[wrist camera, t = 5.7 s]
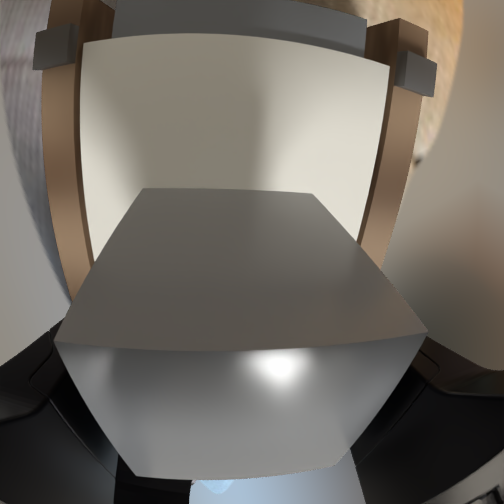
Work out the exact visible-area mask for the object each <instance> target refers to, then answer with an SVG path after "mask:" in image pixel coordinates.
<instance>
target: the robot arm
mask: <svg viewBox="0 0 504 504" xmlns="http://www.w3.org/2000/svg"><path fill="white" fill-rule="evenodd" d="M63 320H64V318H63V319H62V320H61V321H59V323H57V324H56V325H54V326H53V327H52V328H51V329H50V330H49V331H50V332H49V331H47V332H46V333H44V334H43V335H42V336H41V337H40V338H38V339H37V340H36V341H34V342H33V343H32V344H31V345H29V346H28V347H27V348H25V349H24V350H23V351H21V352H20V353H18V354H17V355H16V356H14V357H13V358H12V359H10V360H9V361H7V362H6V363H4V364H3V365H2V366H0V504H189V496H190V488H191V485H193V484H194V483H195V481H196V480H182V479H164V478H152V477H142V476H136V475H135V474H134V473H133V471H132V470H131V469H130V468H129V466H128V465H127V464H126V462H125V461H124V460H123V458H122V457H121V456H120V454H119V453H118V452H117V450H116V449H115V448H114V446H113V445H112V443H111V442H110V440H109V439H108V438H107V436H106V435H105V433H104V432H103V430H102V429H101V427H100V426H99V424H98V422H97V421H96V419H95V418H94V416H93V415H92V413H91V411H90V410H89V408H88V406H87V405H86V403H85V401H84V400H83V398H82V396H81V394H80V393H79V391H78V389H77V387H76V385H75V384H74V382H73V380H72V378H71V376H70V374H69V372H68V370H67V368H66V366H65V364H64V362H63V360H62V358H61V356H60V354H59V352H58V350H57V348H56V345H55V343H54V339H55V336H56V334H57V332H58V330H59V328H60V326H61V324H62V322H63ZM350 450H351V454H352V457H353V460H354V463H355V466H356V467H355V468H356V471H357V474H358V478H359V481H360V485H361V488H362V492H363V495H364V499H365V502H366V504H504V370H491V369H487V368H484V367H481V366H479V365H477V364H476V363H474V362H472V361H470V360H468V359H466V358H464V357H463V356H461V355H459V354H457V353H456V352H454V351H452V350H450V349H448V348H446V347H445V346H443V345H441V344H439V343H438V342H436V341H434V340H432V339H431V338H429V337H428V336H426V338H425V339H424V341H423V343H422V345H421V347H420V348H419V350H418V352H417V354H416V355H415V357H414V359H413V360H412V362H411V364H410V365H409V367H408V369H407V370H406V372H405V373H404V375H403V377H402V378H401V380H400V381H399V383H398V384H397V386H396V387H395V389H394V390H393V392H392V393H391V395H390V396H389V398H388V399H387V400H386V402H385V403H384V405H383V406H382V408H381V409H380V410H379V412H378V413H377V414H376V416H375V417H374V418H373V420H372V421H371V422H370V424H369V425H368V426H367V428H366V429H365V430H364V431H363V433H362V434H361V435H360V436H359V438H358V439H357V440H356V441H355V443H354V444H353V445H352V446H351V447H350Z"/></svg>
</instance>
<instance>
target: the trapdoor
mask: <svg viewBox="0 0 504 504" xmlns="http://www.w3.org/2000/svg"><path fill="white" fill-rule="evenodd" d="M366 28H367V19H364V18H361V17H357V16H354V15H351V14H347V13H344V12H340V11H337V10H333V9H329V8H325V7H321V6H316V5H312V4H307V3H302V2H297V1H292V0H117V3H116V9H115V16H114V23H113V31H112V39H106V40H99V41H93V42H87V43H84V45H83V55H82V68H81V87H80V141H81V161H82V174H83V186H84V195H85V204H86V212H87V220H88V226H89V233H90V239H91V245H92V251H93V256H94V261H96V259H97V257H98V256H99V254H100V252H101V251H102V249H103V247H104V246H105V244H106V243H107V241H108V239H109V238H110V236H111V235H112V233H113V232H114V230H115V228H116V227H117V225H118V224H119V222H120V221H121V219H122V218H123V216H124V215H125V213H126V212H127V210H128V209H129V207H130V206H131V204H132V203H133V201H134V200H135V199H136V197H137V196H138V194H139V193H140V191H141V190H142V189H143V188H207V189H242V190H265V191H283V192H299V193H312V194H313V195H314V196H315V197H316V198H317V199H318V200H319V201H320V202H321V203H322V204H323V205H324V206H325V207H326V209H327V210H328V211H329V212H330V213H331V214H332V215H333V216H334V217H335V218H336V219H337V221H338V222H339V223H340V224H341V225H342V226H343V227H344V228H345V229H346V231H347V232H348V233H349V234H350V235H351V236H352V237H353V238H354V240H355V241H357V237H358V233H359V229H360V226H361V222H362V218H363V214H364V209H365V205H366V201H367V197H368V192H369V188H370V184H371V179H372V174H373V169H374V165H375V160H376V154H377V149H378V144H379V138H380V133H381V127H382V121H383V114H384V108H385V101H386V94H387V86H388V78H389V69H390V66H387V65H384V64H381V63H378V62H375V61H372V60H369V59H365V58H364V51H365V40H366Z"/></svg>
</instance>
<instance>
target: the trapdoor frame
mask: <svg viewBox="0 0 504 504" xmlns="http://www.w3.org/2000/svg"><path fill="white" fill-rule="evenodd" d="M114 16H115V11H114V10H113V9H112V8H110V7H109V6H107V5H106V4H105V3H103V2H102V1H100V0H52V2H51V7H50V13H49V18H48V25H47V30H43V31H40V32H37V33H36V39H35V48H34V58H33V70H43V73H42V140H43V155H44V166H45V176H46V184H47V192H48V199H49V205H50V211H51V217H52V223H53V228H54V233H55V238H56V243H57V247H58V252H59V256H60V260H61V264H62V268H63V272H64V276H65V279H66V283H67V286H68V290H69V293H70V297H71V300H72V302H73V300H74V298H75V296H76V295H77V293H78V291H79V289H80V287H81V285H82V284H83V282H84V280H85V278H86V276H87V275H88V273H89V271H90V269H91V268H92V266H93V264H94V262H95V261H94V256H93V251H92V245H91V239H90V233H89V226H88V220H87V212H86V204H85V195H84V186H83V174H82V161H81V141H80V87H81V68H82V55H83V45H84V43H87V42H93V41H99V40H106V39H112V31H113V23H114ZM427 45H428V31H427V30H425V29H423V28H421V27H419V26H416V25H414V24H412V23H410V22H408V21H405V20H403V19H401V18H398V19H394V20H391V21H387V22H384V23H380V24H377V25H374V26H370V27H367V28H366V40H365V51H364V58H365V59H369V60H372V61H375V62H378V63H381V64H384V65H387V66H390V69H389V78H388V86H387V94H386V101H385V108H384V114H383V121H382V127H381V133H380V138H379V144H378V149H377V154H376V160H375V165H374V169H373V174H372V179H371V184H370V188H369V192H368V197H367V201H366V205H365V209H364V214H363V218H362V222H361V226H360V229H359V233H358V237H357V241H356V242H357V243H358V244H359V245H360V246H361V248H362V249H363V250H364V251H365V252H366V253H367V255H368V256H369V257H370V258H371V259H372V260H373V262H374V263H375V264H376V265H377V266H378V268H379V269H381V266H382V263H383V260H384V257H385V254H386V250H387V248H388V245H389V242H390V238H391V235H392V232H393V228H394V225H395V222H396V218H397V215H398V211H399V207H400V204H401V200H402V196H403V192H404V188H405V184H406V180H407V176H408V172H409V167H410V163H411V158H412V153H413V148H414V143H415V138H416V133H417V127H418V121H419V115H420V109H421V102H422V96H428V97H433V96H434V88H435V80H436V70H437V63H435V62H433V61H431V60H429V59H427Z"/></svg>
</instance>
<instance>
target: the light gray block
mask: <svg viewBox="0 0 504 504" xmlns="http://www.w3.org/2000/svg"><path fill="white" fill-rule="evenodd" d="M427 334H428V330H427V329H426V327H425V326H424V325H423V323H422V322H421V321H420V319H419V318H418V317H417V315H416V314H415V313H414V311H412V309H411V308H410V306H409V305H408V304H407V302H406V301H405V300H404V299H403V297H402V296H401V295H400V293H399V292H398V291H397V290H396V288H395V287H394V286H393V285H392V284H391V282H390V281H389V280H388V279H387V277H386V276H385V275H384V274H383V272H382V271H381V270H380V269H379V268H378V266H377V265H376V264H375V263H374V262H373V260H372V259H371V258H370V257H369V256H368V255H367V253H366V252H365V251H364V250H363V249H362V248H361V246H360V245H359V244H358V243H357V242H356V241H355V240H354V238H353V237H352V236H351V235H350V234H349V233H348V232H347V231H346V229H345V228H344V227H343V226H342V225H341V224H340V223H339V222H338V221H337V219H336V218H335V217H334V216H333V215H332V214H331V213H330V212H329V211H328V210H327V209H326V207H325V206H324V205H323V204H322V203H321V202H320V201H319V200H318V199H317V198H316V197H315V196H314V195H313V194H312V193H299V192H283V191H265V190H242V189H207V188H143V189H142V190H141V191H140V193H139V194H138V196H137V197H136V199H135V200H134V201H133V203H132V204H131V206H130V207H129V209H128V210H127V212H126V213H125V215H124V216H123V218H122V219H121V221H120V222H119V224H118V225H117V227H116V228H115V230H114V232H113V233H112V235H111V236H110V238H109V239H108V241H107V243H106V244H105V246H104V247H103V249H102V251H101V252H100V254H99V256H98V257H97V259H96V261H95V262H94V264H93V266H92V268H91V269H90V271H89V273H88V275H87V276H86V278H85V280H84V282H83V284H82V285H81V287H80V289H79V291H78V293H77V295H76V296H75V298H74V300H73V302H72V304H71V306H70V308H69V310H68V312H67V314H66V316H65V318H64V320H63V322H62V324H61V326H60V328H59V330H58V332H57V334H56V336H55V339H54V343H55V345H56V348H57V350H58V352H59V354H60V356H61V358H62V360H63V362H64V364H65V366H66V368H67V370H68V372H69V374H70V376H71V378H72V380H73V382H74V384H75V385H76V387H77V389H78V391H79V393H80V394H81V396H82V398H83V400H84V401H85V403H86V405H87V406H88V408H89V410H90V411H91V413H92V415H93V416H94V418H95V419H96V421H97V422H98V424H99V426H100V427H101V429H102V430H103V432H104V433H105V435H106V436H107V438H108V439H109V440H110V442H111V443H112V445H113V446H114V448H115V449H116V450H117V452H118V453H119V454H120V456H121V457H122V458H123V460H124V461H125V462H126V464H127V465H128V466H129V468H130V469H131V470H132V471H133V473H134V474H135V475H136V476H142V477H152V478H164V479H182V480H228V479H247V478H259V477H269V476H277V475H285V474H292V473H299V472H305V471H311V470H316V469H321V468H326V467H331V466H335V464H336V463H337V462H338V461H339V460H340V459H341V458H342V457H343V455H344V454H345V453H346V452H347V451H348V450H349V449H350V447H351V446H352V445H353V444H354V443H355V441H356V440H357V439H358V438H359V436H360V435H361V434H362V433H363V431H364V430H365V429H366V428H367V426H368V425H369V424H370V422H371V421H372V420H373V418H374V417H375V416H376V414H377V413H378V412H379V410H380V409H381V408H382V406H383V405H384V403H385V402H386V400H387V399H388V398H389V396H390V395H391V393H392V392H393V390H394V389H395V387H396V386H397V384H398V383H399V381H400V380H401V378H402V377H403V375H404V373H405V372H406V370H407V369H408V367H409V365H410V364H411V362H412V360H413V359H414V357H415V355H416V354H417V352H418V350H419V348H420V347H421V345H422V343H423V341H424V339H425V338H426V336H427Z"/></svg>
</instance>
